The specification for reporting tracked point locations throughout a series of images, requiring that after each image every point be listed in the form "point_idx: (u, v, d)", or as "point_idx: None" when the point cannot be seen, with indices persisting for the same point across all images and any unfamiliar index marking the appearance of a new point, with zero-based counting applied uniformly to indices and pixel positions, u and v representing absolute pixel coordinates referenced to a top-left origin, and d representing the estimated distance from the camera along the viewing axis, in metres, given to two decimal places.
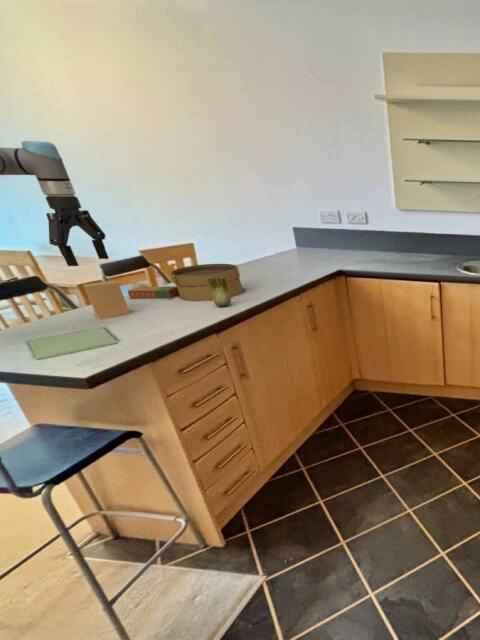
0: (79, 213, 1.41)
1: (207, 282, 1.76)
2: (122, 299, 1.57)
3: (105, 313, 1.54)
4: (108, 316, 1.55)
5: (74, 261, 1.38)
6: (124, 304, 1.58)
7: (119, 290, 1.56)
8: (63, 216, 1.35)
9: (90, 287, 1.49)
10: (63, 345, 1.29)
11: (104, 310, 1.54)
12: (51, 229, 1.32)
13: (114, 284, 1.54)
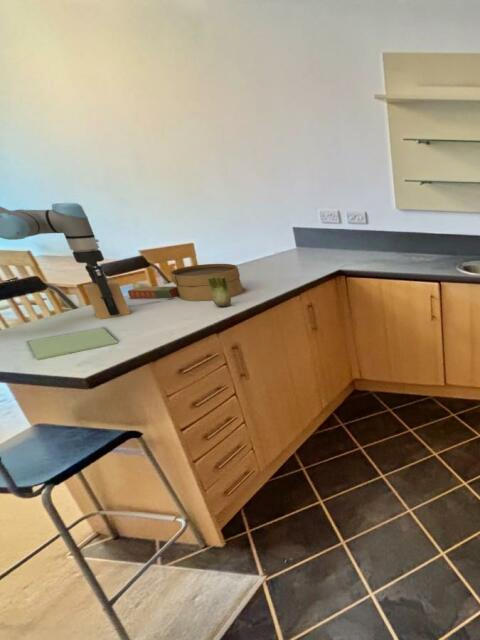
0: None
1: (207, 282, 1.76)
2: (122, 299, 1.57)
3: (105, 313, 1.54)
4: (108, 316, 1.55)
5: (117, 310, 1.56)
6: (124, 304, 1.58)
7: (119, 290, 1.56)
8: (99, 268, 1.49)
9: (90, 287, 1.49)
10: (63, 345, 1.29)
11: (104, 310, 1.54)
12: (101, 284, 1.49)
13: (114, 284, 1.54)
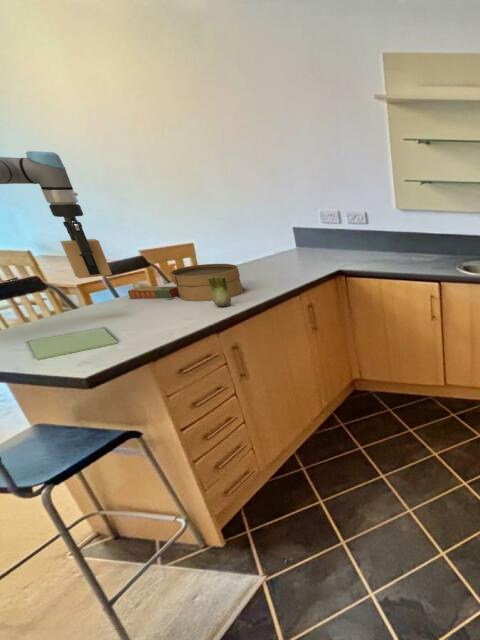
0: None
1: (207, 282, 1.76)
2: (103, 258, 1.49)
3: (84, 272, 1.46)
4: (88, 276, 1.47)
5: (97, 269, 1.48)
6: (105, 264, 1.50)
7: (100, 248, 1.48)
8: (78, 223, 1.41)
9: (68, 243, 1.41)
10: (63, 345, 1.29)
11: (84, 269, 1.46)
12: (80, 240, 1.41)
13: (94, 242, 1.46)
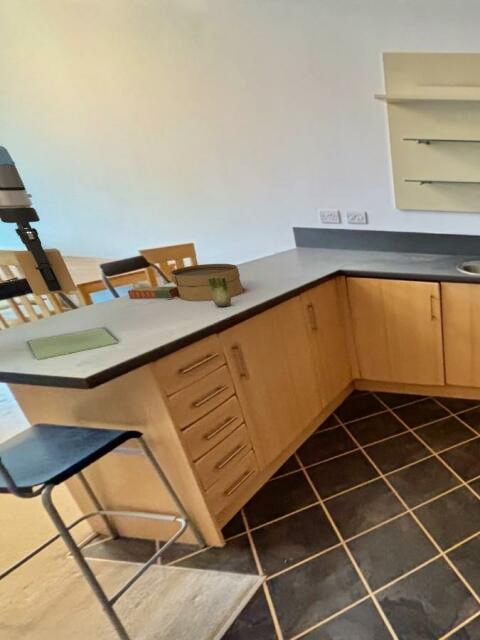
0: None
1: (207, 282, 1.76)
2: (65, 271, 1.26)
3: (42, 288, 1.23)
4: (47, 292, 1.24)
5: (59, 285, 1.25)
6: (68, 278, 1.27)
7: (61, 260, 1.24)
8: (32, 230, 1.18)
9: (21, 254, 1.18)
10: (63, 345, 1.29)
11: (42, 284, 1.23)
12: (35, 251, 1.18)
13: (54, 252, 1.23)
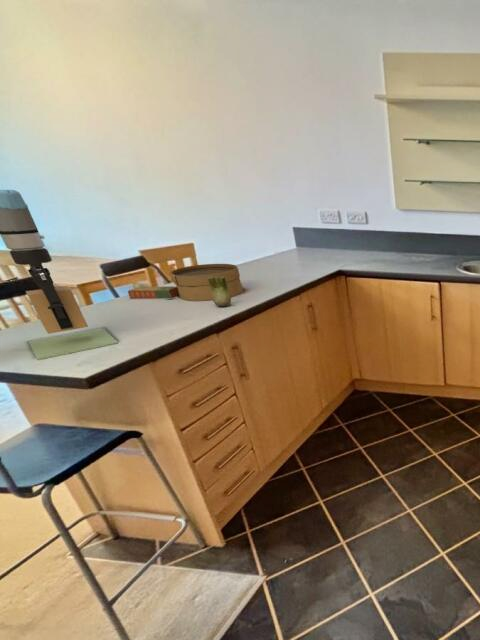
0: None
1: (207, 282, 1.76)
2: (76, 309, 1.28)
3: (54, 326, 1.25)
4: (59, 330, 1.26)
5: (70, 322, 1.27)
6: (79, 315, 1.29)
7: (72, 298, 1.27)
8: (44, 271, 1.20)
9: (34, 295, 1.20)
10: (63, 345, 1.29)
11: (53, 323, 1.25)
12: (48, 291, 1.20)
13: (66, 291, 1.25)
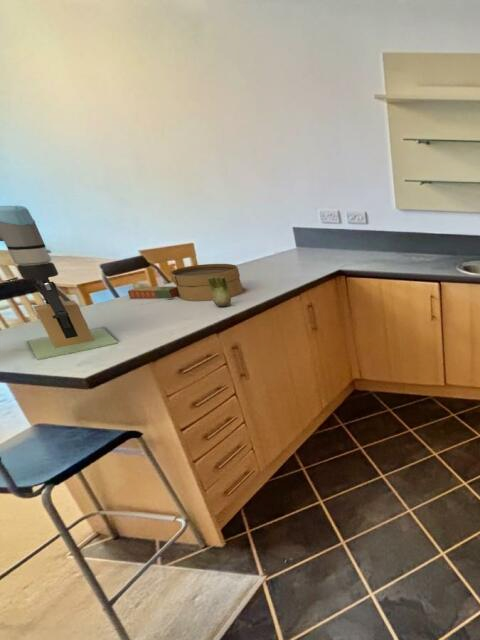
0: None
1: (207, 282, 1.76)
2: (83, 323, 1.30)
3: (61, 340, 1.27)
4: (66, 344, 1.28)
5: (75, 331, 1.26)
6: (86, 329, 1.31)
7: (79, 312, 1.29)
8: None
9: (42, 310, 1.23)
10: None
11: (60, 337, 1.27)
12: (52, 300, 1.20)
13: (72, 305, 1.27)
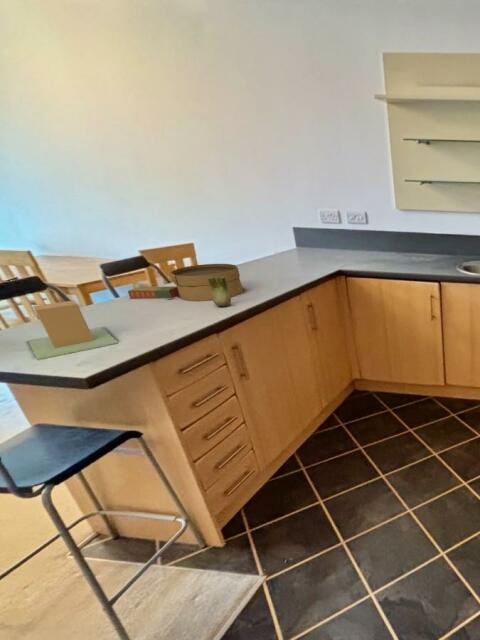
0: None
1: (207, 282, 1.76)
2: (83, 323, 1.30)
3: (61, 340, 1.27)
4: (66, 344, 1.28)
5: None
6: (86, 329, 1.31)
7: (79, 312, 1.29)
8: None
9: (42, 310, 1.23)
10: None
11: (60, 337, 1.27)
12: None
13: (72, 305, 1.27)
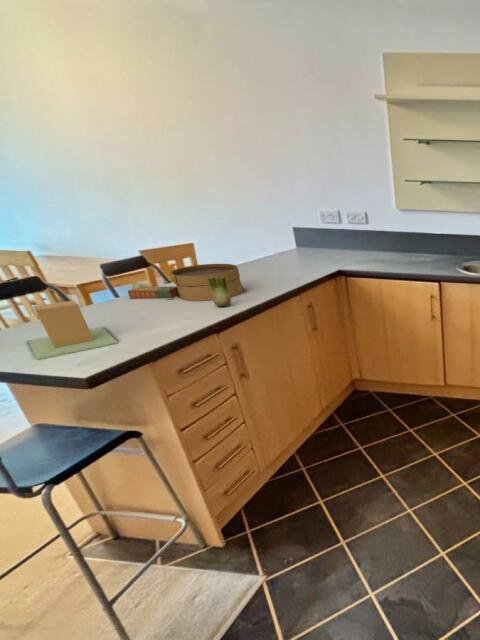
0: None
1: (207, 282, 1.76)
2: (83, 323, 1.30)
3: (61, 340, 1.27)
4: (66, 344, 1.28)
5: None
6: (86, 329, 1.31)
7: (79, 312, 1.29)
8: None
9: (42, 310, 1.23)
10: None
11: (60, 337, 1.27)
12: None
13: (72, 305, 1.27)
